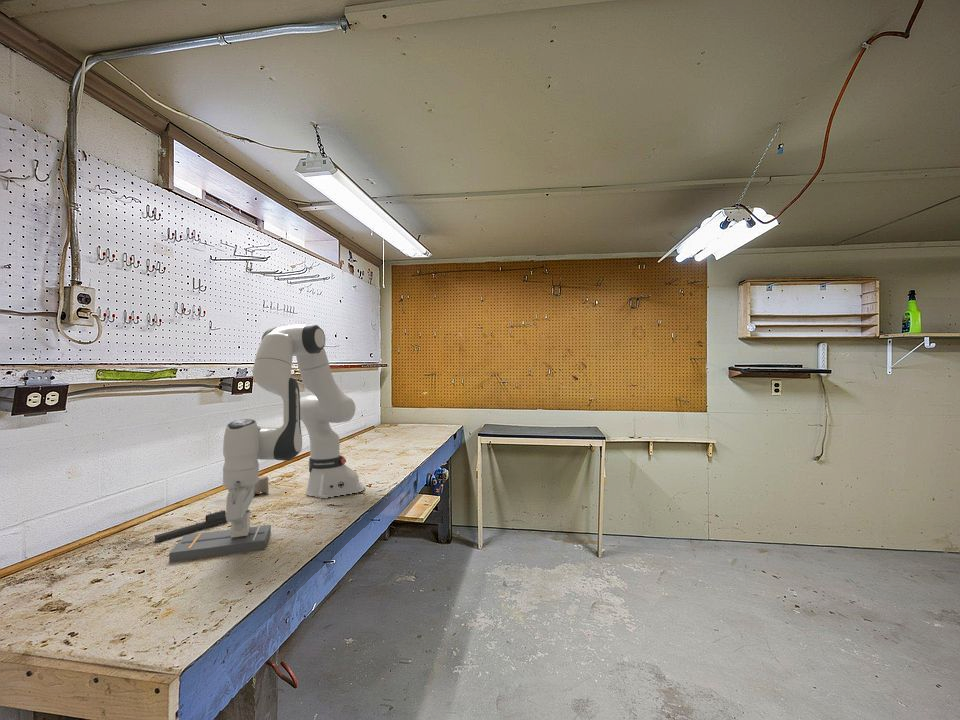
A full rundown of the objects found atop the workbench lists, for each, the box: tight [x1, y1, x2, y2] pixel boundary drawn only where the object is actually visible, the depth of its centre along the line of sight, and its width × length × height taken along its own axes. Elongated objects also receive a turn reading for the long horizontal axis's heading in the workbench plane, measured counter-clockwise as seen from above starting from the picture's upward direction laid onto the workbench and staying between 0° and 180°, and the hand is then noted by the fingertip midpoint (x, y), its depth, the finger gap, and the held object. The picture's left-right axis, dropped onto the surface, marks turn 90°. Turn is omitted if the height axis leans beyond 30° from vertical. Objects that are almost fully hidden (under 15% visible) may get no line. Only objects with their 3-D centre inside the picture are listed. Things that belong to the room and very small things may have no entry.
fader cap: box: [230, 509, 251, 538], centre depth 116 cm, size 4×4×6 cm
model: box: [254, 474, 269, 494], centre depth 159 cm, size 3×11×8 cm, turn 154°
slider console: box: [168, 524, 272, 563], centre depth 115 cm, size 22×12×3 cm, turn 110°
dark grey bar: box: [154, 509, 228, 544], centre depth 125 cm, size 19×3×4 cm, turn 146°
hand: (240, 526), depth 116 cm, fingers closed on fader cap, 4 cm apart
